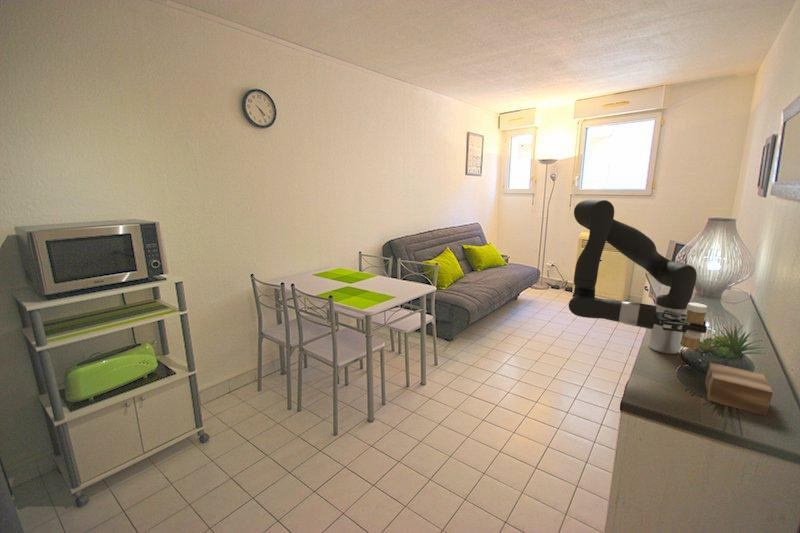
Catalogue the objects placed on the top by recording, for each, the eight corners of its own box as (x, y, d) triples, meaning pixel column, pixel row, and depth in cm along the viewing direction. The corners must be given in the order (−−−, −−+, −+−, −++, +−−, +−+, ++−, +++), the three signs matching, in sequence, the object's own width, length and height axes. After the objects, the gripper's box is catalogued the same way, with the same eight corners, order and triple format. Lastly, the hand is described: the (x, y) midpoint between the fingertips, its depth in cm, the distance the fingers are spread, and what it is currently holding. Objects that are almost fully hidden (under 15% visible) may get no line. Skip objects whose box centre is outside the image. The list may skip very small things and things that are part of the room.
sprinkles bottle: (688, 349, 107) (696, 307, 104) (676, 343, 112) (684, 301, 109) (702, 349, 108) (712, 306, 105) (690, 343, 112) (698, 301, 109)
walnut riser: (705, 382, 113) (709, 362, 111) (757, 396, 106) (763, 374, 104) (708, 400, 103) (713, 378, 102) (766, 416, 96) (772, 392, 95)
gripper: (637, 309, 110) (710, 322, 100) (640, 297, 121) (706, 308, 111) (633, 332, 112) (705, 347, 102) (637, 319, 123) (701, 331, 113)
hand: (705, 326), depth 107 cm, fingers closed on sprinkles bottle, 4 cm apart
